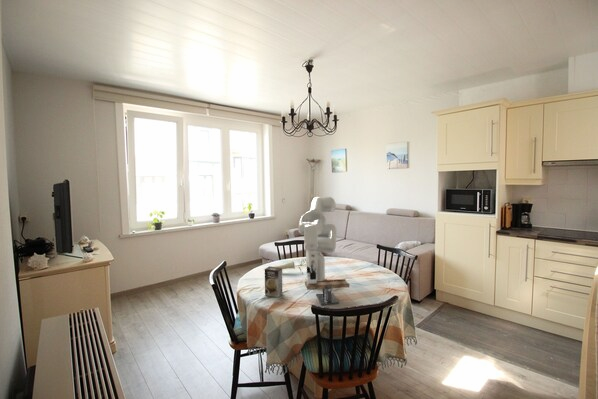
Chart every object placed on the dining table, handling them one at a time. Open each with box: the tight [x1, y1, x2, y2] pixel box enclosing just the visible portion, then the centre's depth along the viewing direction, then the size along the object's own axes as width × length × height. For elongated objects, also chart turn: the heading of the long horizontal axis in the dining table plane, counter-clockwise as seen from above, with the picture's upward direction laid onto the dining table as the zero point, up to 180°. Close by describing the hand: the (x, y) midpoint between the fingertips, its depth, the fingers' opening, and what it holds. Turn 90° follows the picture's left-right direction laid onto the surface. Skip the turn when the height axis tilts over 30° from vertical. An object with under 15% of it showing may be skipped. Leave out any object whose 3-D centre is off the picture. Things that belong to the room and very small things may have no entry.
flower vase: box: [270, 257, 307, 274], centre depth 209 cm, size 12×12×35 cm
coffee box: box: [264, 266, 283, 298], centre depth 171 cm, size 9×6×16 cm
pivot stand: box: [315, 278, 340, 306], centre depth 163 cm, size 10×13×10 cm
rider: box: [305, 272, 317, 286], centre depth 161 cm, size 5×4×6 cm
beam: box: [304, 278, 350, 291], centre depth 163 cm, size 24×8×2 cm, turn 99°
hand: (311, 276), depth 161 cm, fingers open, 9 cm apart
